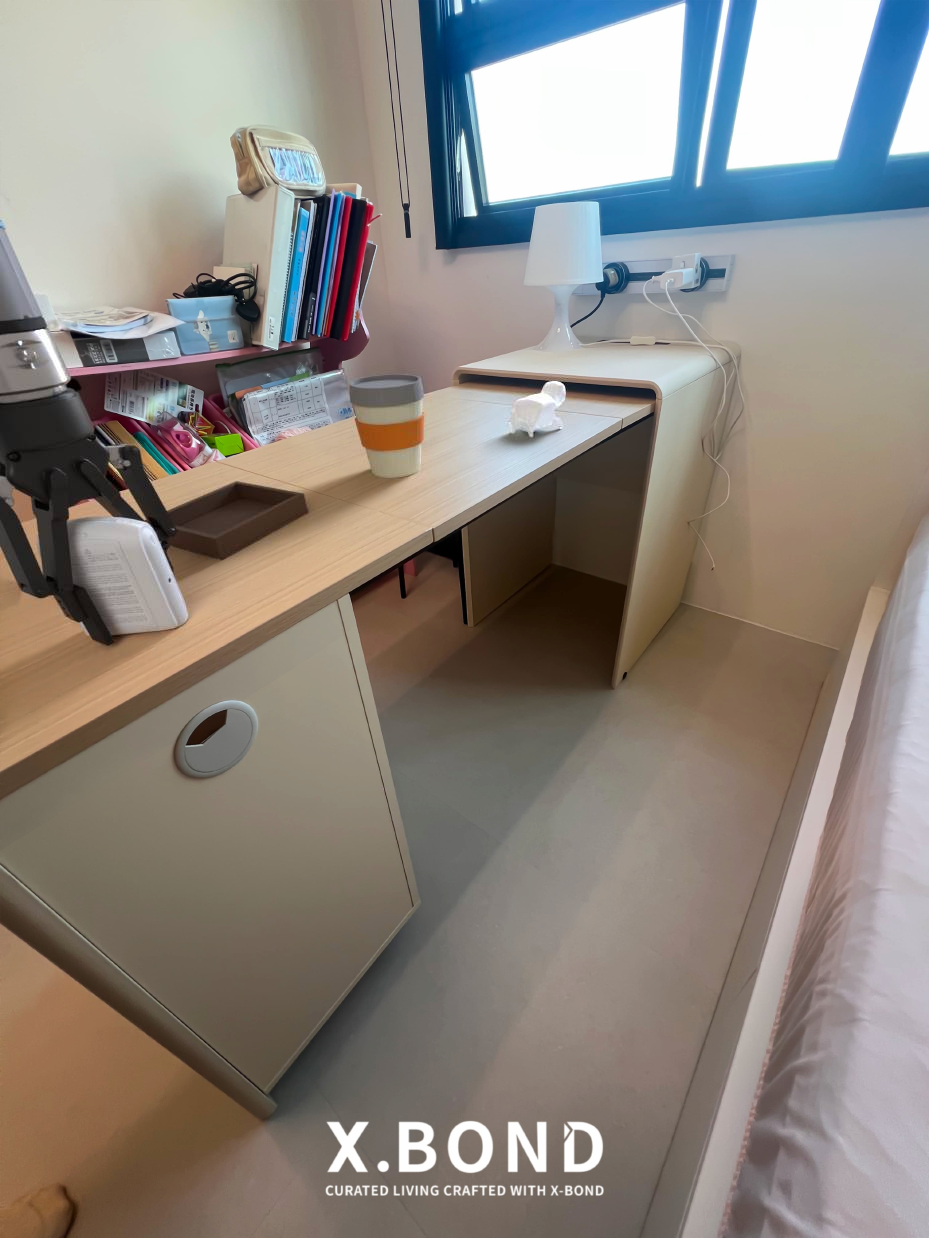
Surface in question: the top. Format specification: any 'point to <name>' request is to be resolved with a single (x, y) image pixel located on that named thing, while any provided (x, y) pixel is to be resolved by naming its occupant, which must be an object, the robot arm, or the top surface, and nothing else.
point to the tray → (233, 518)
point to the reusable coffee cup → (390, 422)
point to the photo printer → (124, 574)
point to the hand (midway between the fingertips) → (138, 620)
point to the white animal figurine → (538, 409)
